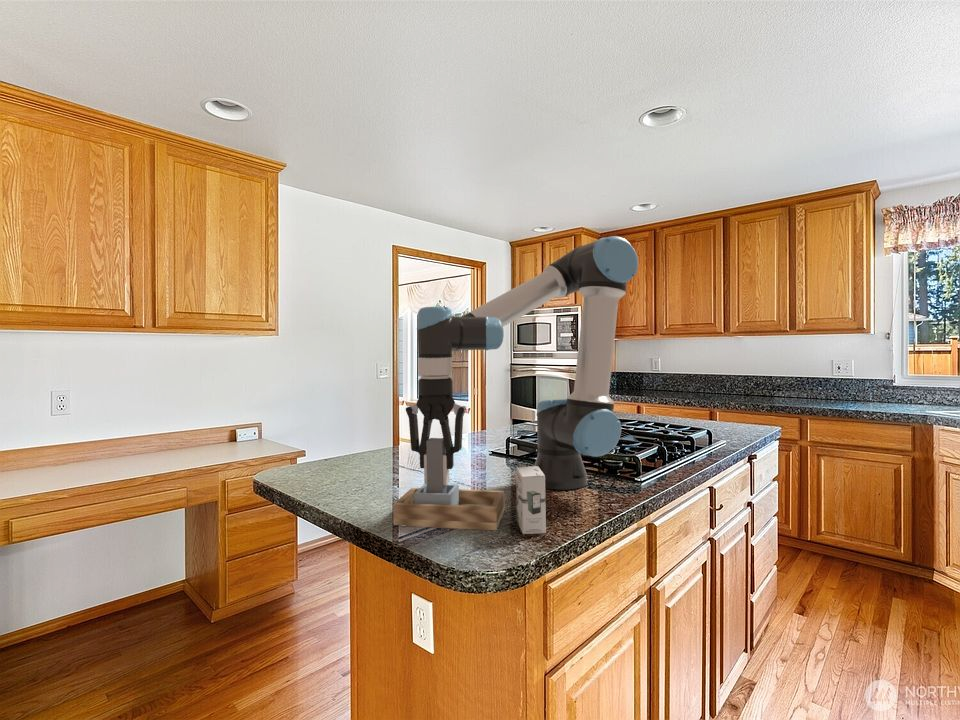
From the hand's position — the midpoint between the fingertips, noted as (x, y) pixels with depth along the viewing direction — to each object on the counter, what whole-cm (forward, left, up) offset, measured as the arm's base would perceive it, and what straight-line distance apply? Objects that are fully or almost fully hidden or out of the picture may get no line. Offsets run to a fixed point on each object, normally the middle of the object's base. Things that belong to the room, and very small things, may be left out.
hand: (437, 482), depth 111 cm
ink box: (-21, +3, -8) cm, 23 cm away
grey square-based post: (0, 0, -6) cm, 6 cm away
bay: (-3, 0, -8) cm, 8 cm away
